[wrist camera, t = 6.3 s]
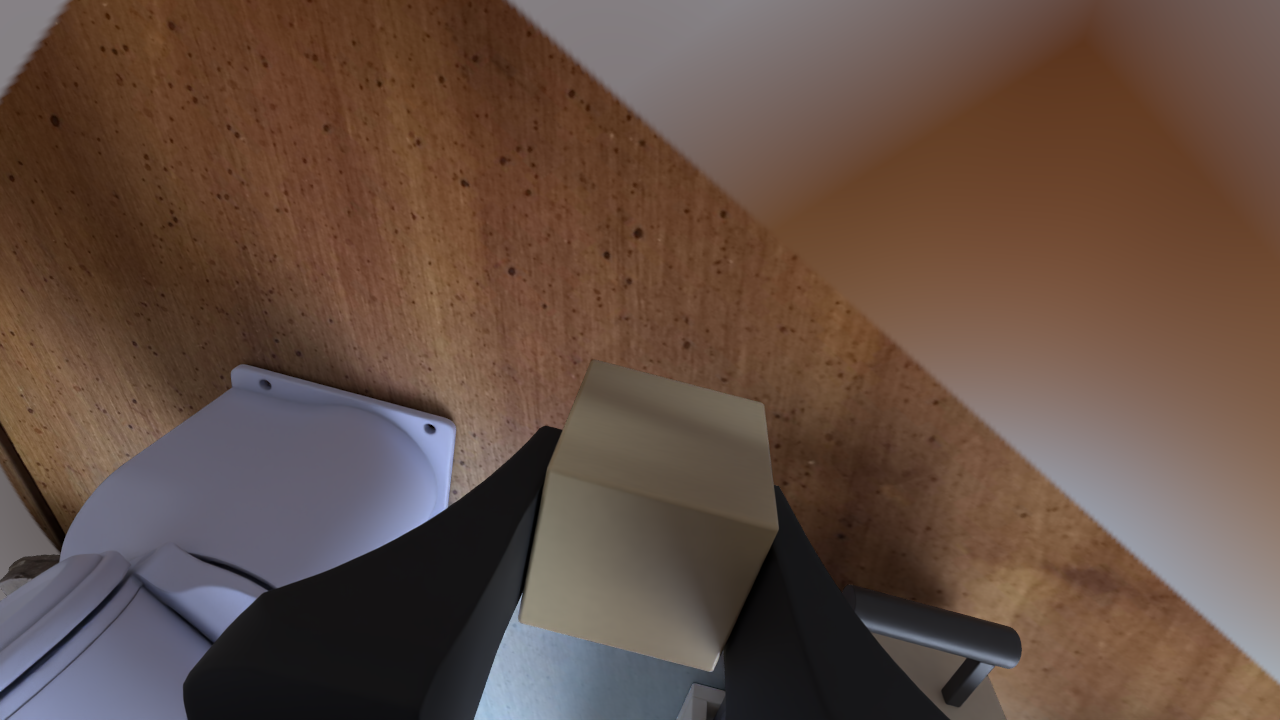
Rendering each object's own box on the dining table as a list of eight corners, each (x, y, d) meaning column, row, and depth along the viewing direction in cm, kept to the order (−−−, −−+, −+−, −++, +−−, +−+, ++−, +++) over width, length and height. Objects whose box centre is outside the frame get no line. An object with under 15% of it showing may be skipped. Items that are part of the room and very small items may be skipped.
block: (562, 491, 15) (516, 624, 12) (591, 356, 13) (545, 468, 10) (715, 530, 15) (713, 674, 12) (765, 401, 13) (781, 528, 10)
